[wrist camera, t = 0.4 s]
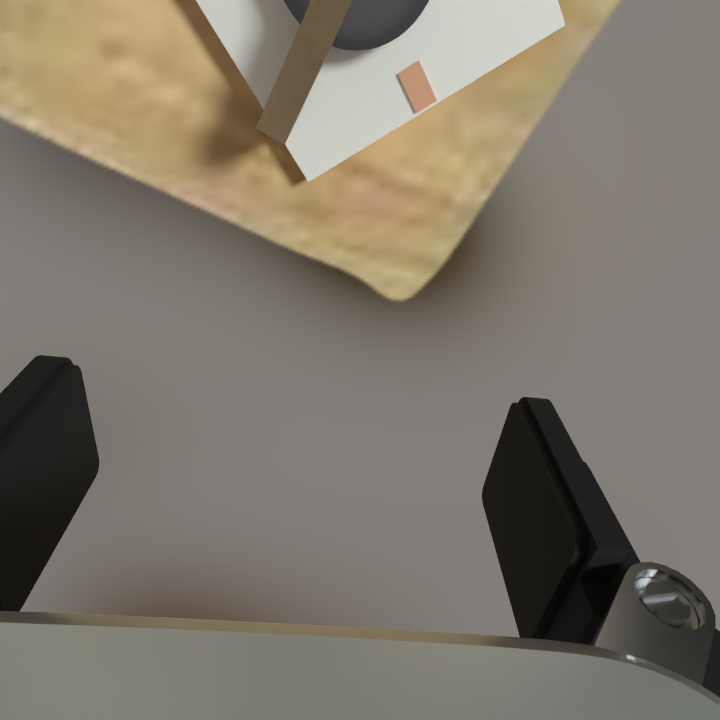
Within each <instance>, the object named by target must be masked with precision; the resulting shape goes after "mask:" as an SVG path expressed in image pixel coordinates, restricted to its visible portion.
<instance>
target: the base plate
mask: <svg viewBox="0 0 720 720" xmlns="http://www.w3.org/2000/svg"><path fill="white" fill-rule="evenodd" d="M196 2H197V3H198V5H199V6H200V8H201V10H202V11H203V13H204V14H205V16H206V18H207V19H208V21H209V22H210V24H211V26H212V27H213V29H214V31H215V32H216V34H217V35H218V37H219V39H220V40H221V42H222V43H223V45H224V47H225V48H226V50H227V52H228V53H229V55H230V56H231V58H232V60H233V61H234V63H235V64H236V66H237V68H238V69H239V71H240V72H241V74H242V76H243V77H244V79H245V81H246V82H247V84H248V85H249V87H250V89H251V90H252V92H253V93H254V95H255V97H256V98H257V100H258V102H259V103H260V105H261V106H262V108H263V110H264V107H265V105H266V103H267V101H268V98H269V96H270V94H271V91H272V89H273V87H274V84H275V82H276V80H277V77H278V75H279V73H280V71H281V68H282V66H283V64H284V61H285V59H286V57H287V54H288V52H289V50H290V48H291V45H292V43H293V41H294V38H295V36H296V34H297V31H298V29H299V27H300V24H299V22H298V21H297V20H296V19H295V17H294V16H293V15H292V13H291V12H290V10H289V9H288V7H287V5H286V4H285V2H284V0H196ZM564 25H565V23H564V19H563V16H562V13H561V9H560V6H559V3H558V0H429V2H428V4H427V5H426V7H425V9H424V10H423V12H422V13H421V15H420V16H419V17H418V19H417V20H416V21H415V22H414V24H413V25H412V26H411V27H410V28H409V29H408V30H407V31H406V32H404V33H403V34H402V35H400V36H399V37H398V38H396V39H395V40H393V41H391V42H389V43H387V44H385V45H383V46H380V47H377V48H373V49H369V50H360V51H353V50H344V49H340V48H336V47H333V46H331V48H330V50H329V53H328V55H327V57H326V59H325V61H324V63H323V65H322V67H321V70H320V72H319V74H318V76H317V78H316V80H315V82H314V84H313V87H312V89H311V91H310V93H309V95H308V97H307V99H306V101H305V104H304V106H303V108H302V110H301V112H300V114H299V116H298V119H297V121H296V123H295V125H294V127H293V129H292V131H291V133H290V135H289V137H288V139H287V141H286V143H285V145H286V147H287V148H288V150H289V152H290V153H291V155H292V156H293V158H294V160H295V161H296V163H297V164H298V166H299V168H300V169H301V171H302V173H303V174H304V176H305V177H306V179H307V181H308V182H309V181H311V180H313V179H314V178H316V177H317V176H319V175H321V174H322V173H324V172H326V171H327V170H329V169H331V168H332V167H334V166H335V165H337V164H339V163H340V162H342V161H344V160H345V159H347V158H349V157H350V156H352V155H353V154H355V153H357V152H358V151H360V150H362V149H363V148H365V147H366V146H368V145H370V144H371V143H373V142H375V141H376V140H378V139H380V138H381V137H383V136H384V135H386V134H388V133H389V132H391V131H393V130H394V129H396V128H398V127H399V126H401V125H402V124H404V123H406V122H407V121H409V120H411V119H412V118H414V117H416V116H417V115H419V114H420V113H422V112H424V111H425V110H427V109H429V108H430V107H432V106H434V105H435V104H437V103H438V102H440V101H442V100H443V99H445V98H447V97H448V96H450V95H452V94H453V93H455V92H456V91H458V90H460V89H461V88H463V87H465V86H466V85H468V84H470V83H471V82H473V81H474V80H476V79H478V78H479V77H481V76H483V75H484V74H486V73H488V72H489V71H491V70H492V69H494V68H496V67H497V66H499V65H501V64H502V63H504V62H506V61H507V60H509V59H510V58H512V57H514V56H515V55H517V54H519V53H520V52H522V51H523V50H525V49H527V48H528V47H530V46H532V45H533V44H535V43H537V42H538V41H540V40H541V39H543V38H545V37H546V36H548V35H550V34H551V33H553V32H555V31H556V30H558V29H559V28H561V27H563V26H564Z"/></svg>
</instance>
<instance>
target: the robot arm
mask: <svg viewBox="0 0 720 720" xmlns="http://www.w3.org/2000/svg"><path fill="white" fill-rule="evenodd" d="M98 468H99V457H98V452H97V447H96V442H95V437H94V432H93V427H92V422H91V417H90V412H89V408H88V403H87V397H86V392H85V387H84V382H83V378H82V372H81V369H80V368H79V366H77V365H73V363H72V361H71V360H70V359H69V358H65V357H53V356H42V355H40V356H37V357H35V358H34V359H33V360H32V361H31V362H30V363H29V364H28V365H27V366H26V367H25V368H24V369H23V371H21V372H20V373H19V375H18V376H17V377H16V378H15V379H14V380H13V381H12V382H11V383H10V384H9V385H8V386H7V387H6V388H5V389H4V390H3V391H2V392H1V393H0V720H720V631H718V630H717V629H715V626H716V619H715V614H714V610H713V608H712V605H711V603H710V601H709V600H708V599H707V597H706V596H705V594H704V593H703V592H702V590H701V589H699V588H698V587H697V586H696V585H695V584H694V583H693V582H692V581H691V580H690V579H688V578H687V577H685V576H684V575H683V574H681V573H680V572H678V571H676V570H674V569H672V568H670V567H668V566H665V565H662V564H658V563H654V562H640V560H639V559H638V557H637V555H636V553H635V551H634V549H633V548H632V546H631V544H630V542H629V540H628V538H627V537H626V535H625V533H624V531H623V529H622V527H621V525H620V524H619V522H618V520H617V518H616V516H615V514H614V513H613V511H612V509H611V507H610V505H609V503H608V501H607V500H606V498H605V496H604V494H603V492H602V490H601V489H600V487H599V485H598V483H597V482H596V479H595V478H594V476H593V474H592V472H591V470H590V468H589V467H588V465H587V464H586V463H585V462H584V461H583V460H582V459H581V457H580V455H579V453H578V451H577V449H576V448H575V446H574V444H573V442H572V440H571V438H570V436H569V434H568V432H567V431H566V429H565V427H564V425H563V423H562V422H561V419H560V418H559V416H558V414H557V412H556V410H555V408H554V406H553V405H552V403H551V401H550V400H548V399H541V398H530V397H523V398H521V399H520V400H519V402H518V403H513V404H512V405H511V407H510V409H509V412H508V415H507V418H506V421H505V424H504V427H503V430H502V433H501V436H500V439H499V442H498V445H497V448H496V450H495V453H494V456H493V459H492V462H491V466H490V468H489V471H488V474H487V477H486V480H485V483H484V486H483V491H482V501H483V506H484V509H485V513H486V517H487V520H488V523H489V527H490V531H491V535H492V538H493V542H494V545H495V549H496V553H497V556H498V559H499V563H500V567H501V571H502V574H503V578H504V581H505V585H506V588H507V592H508V596H509V599H510V603H511V606H512V610H513V614H514V617H515V621H516V624H517V628H518V631H519V635H520V638H519V637H505V636H492V635H478V634H464V633H447V632H429V631H411V630H393V629H376V628H358V627H339V626H320V625H301V624H282V623H280V624H279V623H263V622H243V621H223V620H202V619H182V618H160V617H139V616H117V615H95V614H73V613H72V614H71V613H48V612H19V611H20V610H21V608H22V606H23V605H24V603H25V601H26V599H27V597H28V596H29V594H30V592H31V590H32V589H33V587H34V585H35V583H36V582H37V580H38V578H39V576H40V574H41V573H42V571H43V569H44V567H45V566H46V564H47V562H48V560H49V559H50V557H51V555H52V553H53V551H54V550H55V548H56V546H57V544H58V543H59V541H60V539H61V537H62V536H63V533H64V532H65V530H66V529H67V527H68V525H69V523H70V521H71V520H72V518H73V516H74V514H75V513H76V511H77V509H78V507H79V505H80V504H81V502H82V500H83V498H84V497H85V495H86V493H87V491H88V489H89V488H90V486H91V484H92V482H93V481H94V479H95V477H96V475H97V472H98Z"/></svg>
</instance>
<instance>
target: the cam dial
mask: <svg viewBox="0 0 720 720" xmlns="http://www.w3.org/2000/svg"><path fill="white" fill-rule="evenodd" d="M284 2H285V4H286V5H287V7H288V9H289V10H290V12H291V13H292V15H293V16H294V17H295V19H296V20H297V21H298V22H299V24H300V27H299V29H298V31H297V34H296V36H295V38H294V41H293V43H292V45H291V48H290V50H289V52H288V54H287V57H286V59H285V61H284V64H283V66H282V68H281V71H280V73H279V75H278V77H277V80H276V82H275V84H274V87H273V89H272V91H271V94H270V96H269V98H268V101H267V103H266V105H265V107H264V110H263V112H262V114H261V117H260V119H259V121H258V124H257V126H256V129H257V130H259V131H261V132H263V133H264V134H266V135H268V136H269V137H271V138H273V139H275V140H276V141H278V142H280V143H281V144H283V145H285V143H286V141H287V139H288V137H289V135H290V133H291V131H292V129H293V127H294V125H295V123H296V121H297V119H298V116H299V114H300V112H301V110H302V108H303V106H304V104H305V101H306V99H307V97H308V95H309V93H310V91H311V89H312V87H313V84H314V82H315V80H316V78H317V76H318V74H319V72H320V70H321V67H322V65H323V63H324V61H325V59H326V57H327V55H328V53H329V50H330V48H331V46H333V47H336V48H340V49H344V50H353V51H360V50H369V49H373V48H377V47H380V46H383V45H385V44H387V43H389V42H391V41H393V40H395V39H396V38H398V37H399V36H400V35H402V34H403V33H404V32H406V31H407V30H408V29H409V28H410V27H411V26H412V25H413V24H414V22H415V21H416V20H417V19H418V17H419V16H420V15H421V13H422V12H423V10H424V9H425V7H426V5H427V4H428V2H429V0H284Z"/></svg>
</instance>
